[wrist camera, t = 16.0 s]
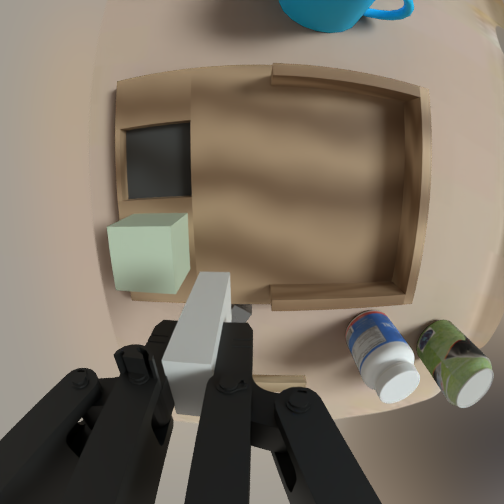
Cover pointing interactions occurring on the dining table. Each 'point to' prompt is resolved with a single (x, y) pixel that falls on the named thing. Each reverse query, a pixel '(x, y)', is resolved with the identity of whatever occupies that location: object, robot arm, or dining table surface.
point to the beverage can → (455, 363)
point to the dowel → (279, 382)
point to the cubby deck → (283, 179)
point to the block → (150, 252)
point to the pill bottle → (382, 356)
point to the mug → (338, 13)
